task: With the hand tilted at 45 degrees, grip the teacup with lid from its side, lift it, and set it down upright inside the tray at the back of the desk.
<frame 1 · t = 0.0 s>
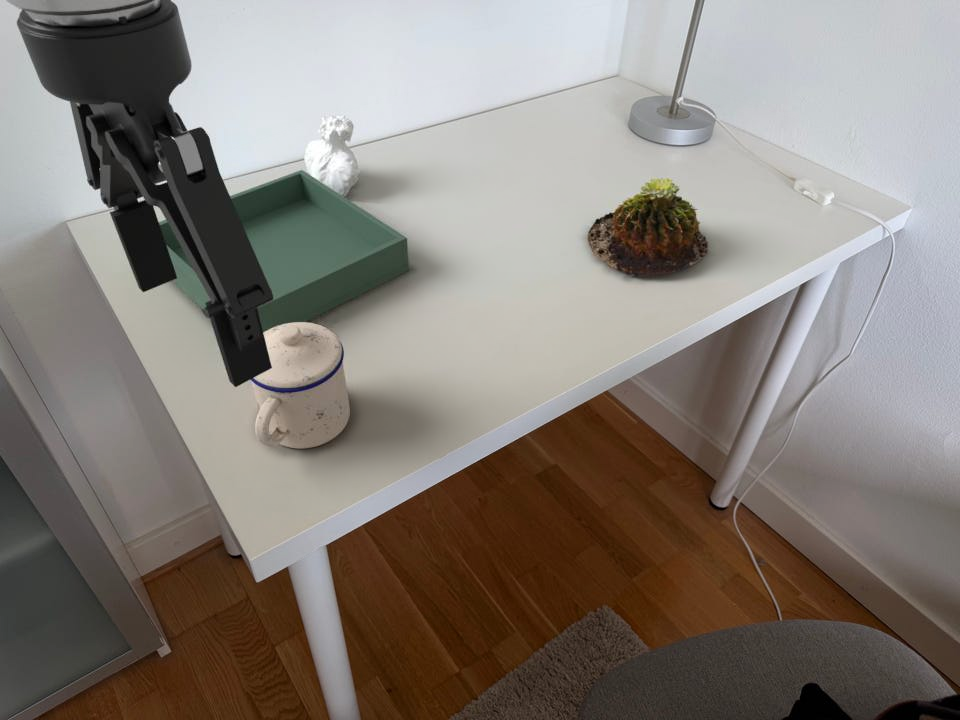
hand: (201, 326, 49), 20 cm above the table, tool pointing down, fingers open, 13 cm apart
teacup with lid: (301, 429, 69), on the table
cactus: (645, 246, 95), on the table
tray: (280, 266, 89), on the table
bust: (337, 185, 105), on the table
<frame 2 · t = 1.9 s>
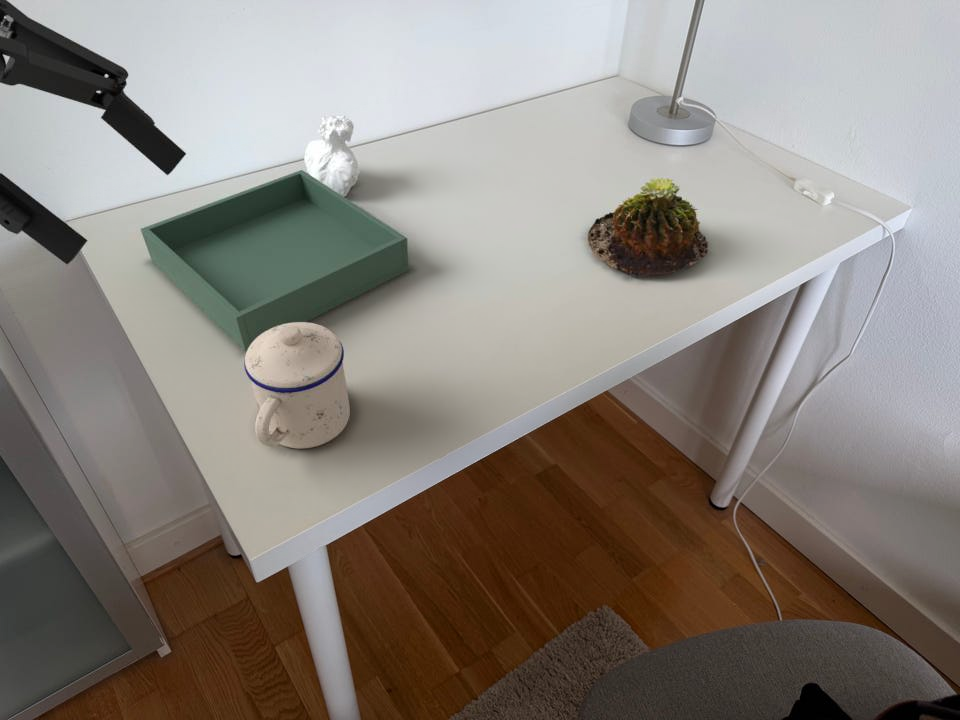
hand: (132, 205, 54), 24 cm above the table, tool tilted 45°, fingers open, 13 cm apart
nothing on the table moved.
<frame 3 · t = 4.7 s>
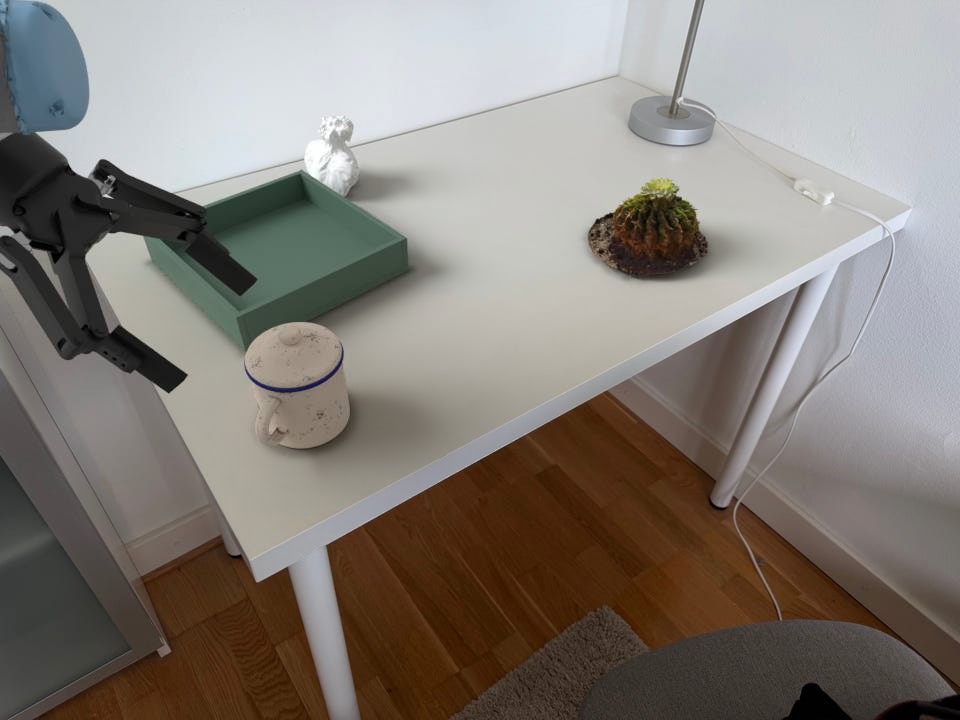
hand: (217, 332, 62), 11 cm above the table, tool tilted 45°, fingers open, 13 cm apart
nothing on the table moved.
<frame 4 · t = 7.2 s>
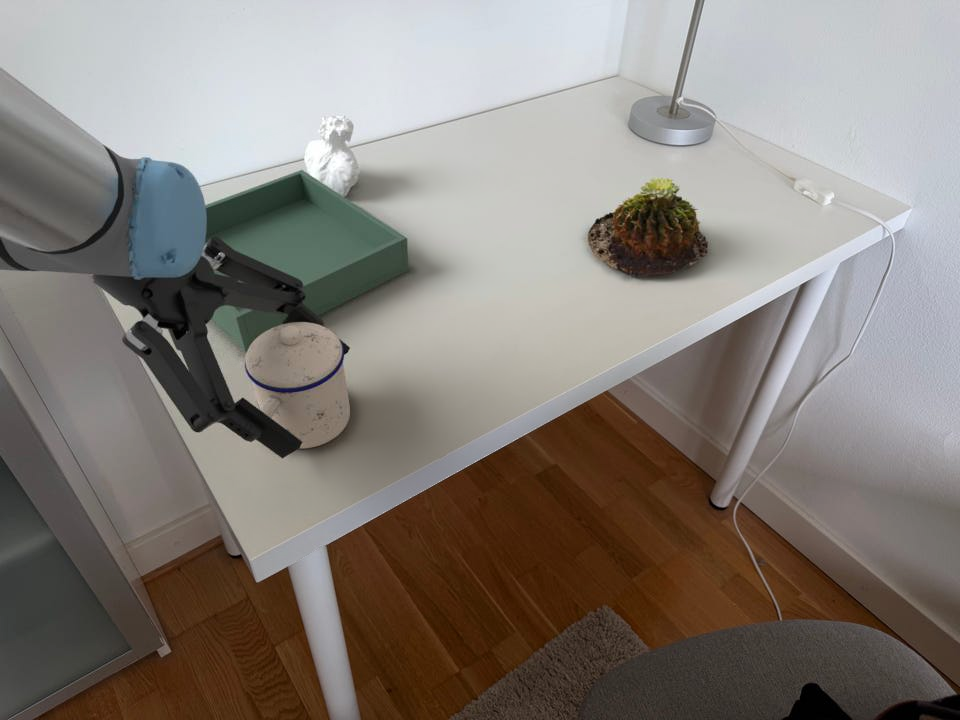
hand: (318, 399, 66), 5 cm above the table, tool tilted 45°, fingers closed on teacup with lid, 12 cm apart
teacup with lid: (301, 429, 69), on the table, touching gripper
everything else where it was.
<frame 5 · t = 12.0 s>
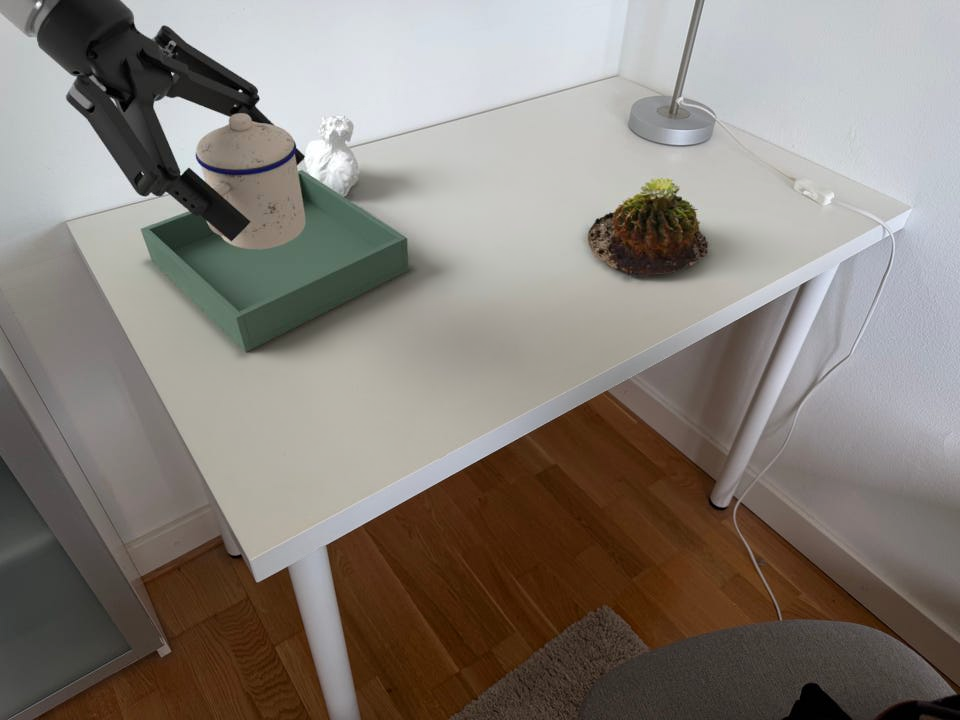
hand: (271, 196, 66), 19 cm above the table, tool tilted 45°, fingers closed on teacup with lid, 12 cm apart
teacup with lid: (256, 236, 69), point 14 cm above the table, touching gripper
everything else where it was.
when the fingers open (6 cm above the table, at t = 17.1 s): teacup with lid stays where it is, resting on tray.
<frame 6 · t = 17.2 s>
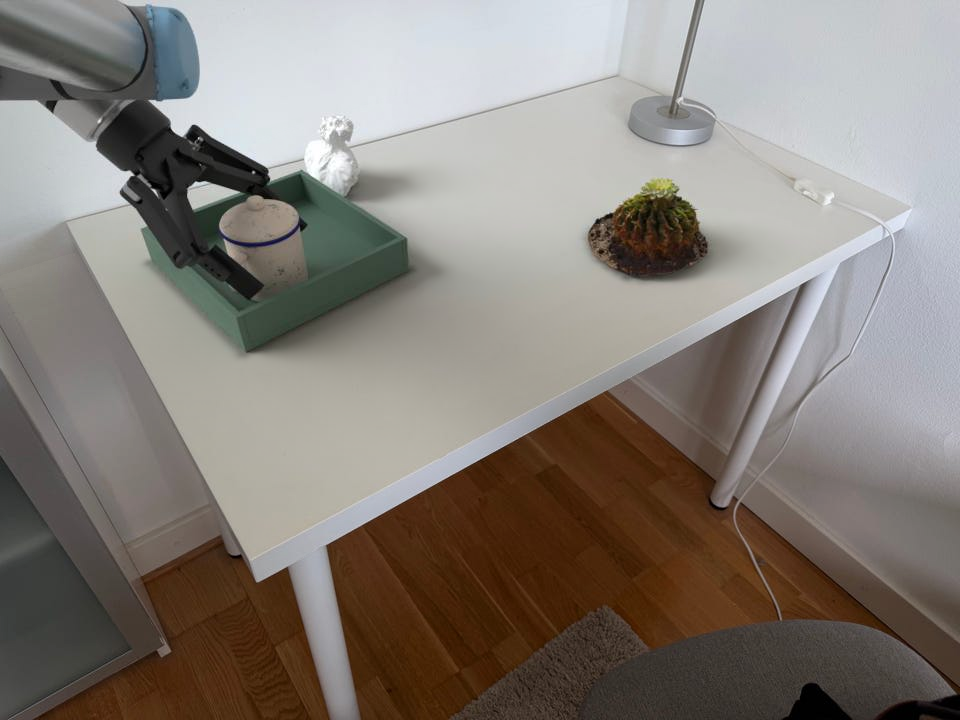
hand: (280, 260, 80), 6 cm above the table, tool tilted 45°, fingers open, 12 cm apart
teacup with lid: (267, 290, 84), point 1 cm above the table, touching tray
everything else where it was.
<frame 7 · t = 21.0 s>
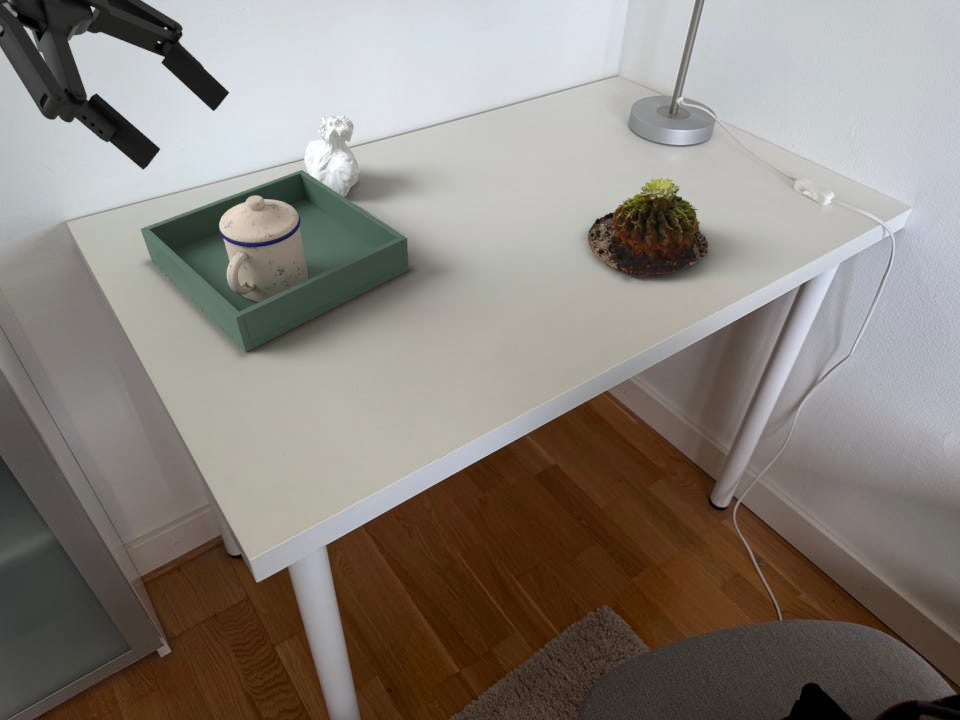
hand: (189, 129, 68), 22 cm above the table, tool tilted 45°, fingers open, 13 cm apart
nothing on the table moved.
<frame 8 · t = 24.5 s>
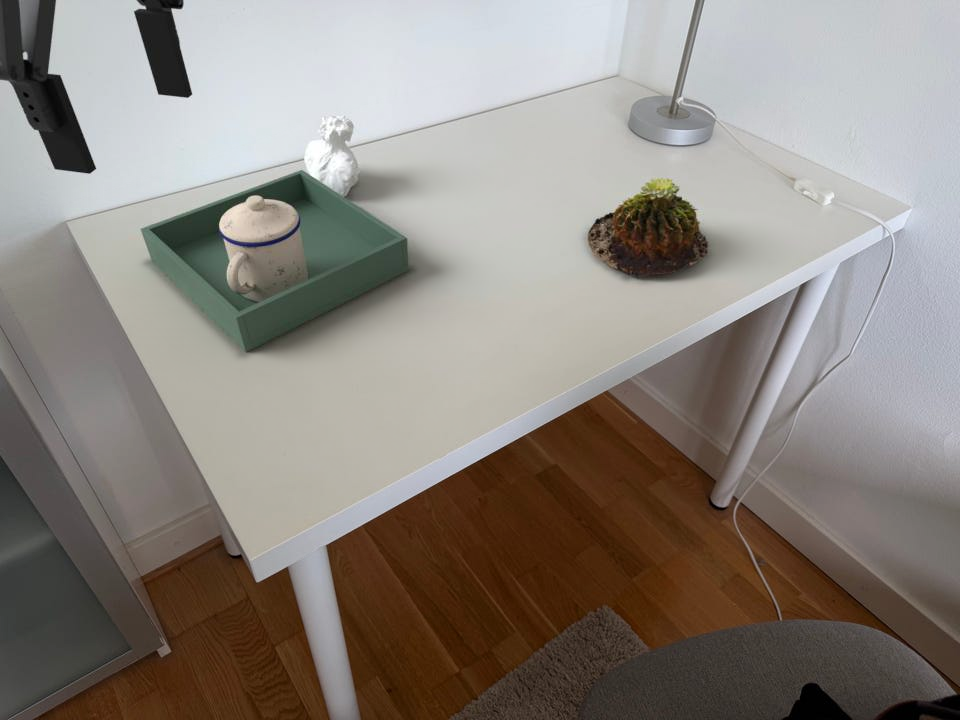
hand: (130, 129, 53), 29 cm above the table, tool pointing down, fingers open, 13 cm apart
nothing on the table moved.
at the end: teacup with lid inside the target area in the tray (6.4 cm from its centre), point 0.8 cm above the tray's base; teacup with lid tilted 0°; the gripper is holding nothing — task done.
